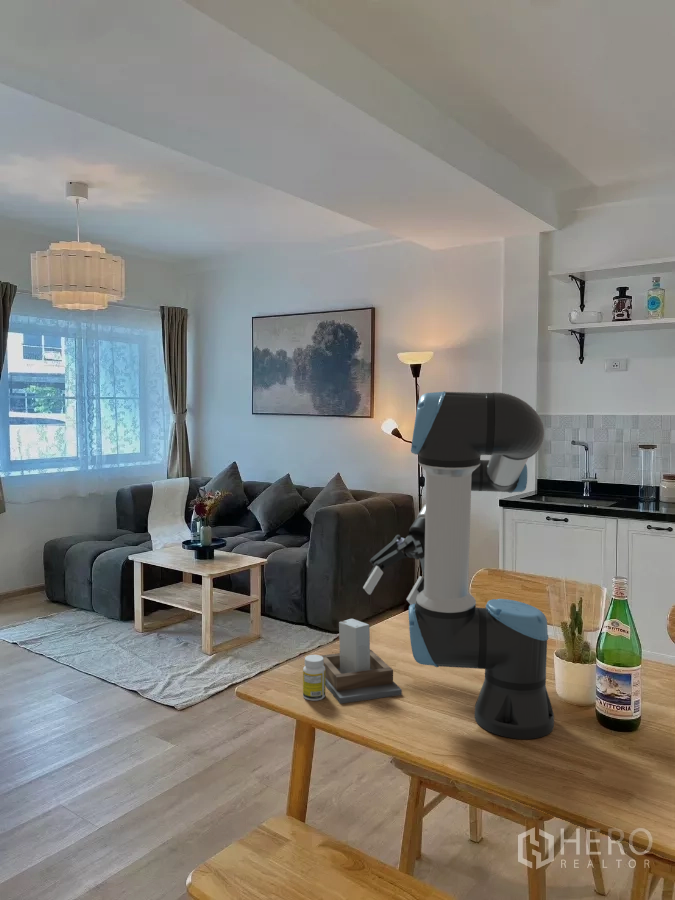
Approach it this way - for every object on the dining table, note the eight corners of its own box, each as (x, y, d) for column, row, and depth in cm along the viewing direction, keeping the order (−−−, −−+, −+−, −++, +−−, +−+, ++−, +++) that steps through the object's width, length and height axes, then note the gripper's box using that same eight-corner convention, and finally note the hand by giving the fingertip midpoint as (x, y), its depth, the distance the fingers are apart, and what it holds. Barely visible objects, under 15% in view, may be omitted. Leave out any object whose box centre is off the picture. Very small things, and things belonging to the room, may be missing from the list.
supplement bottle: (312, 690, 151) (312, 652, 151) (329, 695, 149) (330, 657, 148) (298, 697, 147) (298, 658, 147) (316, 703, 145) (316, 663, 144)
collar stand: (401, 694, 149) (402, 675, 149) (339, 703, 145) (340, 683, 144) (367, 661, 168) (367, 644, 168) (311, 668, 163) (311, 650, 163)
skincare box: (371, 677, 155) (371, 624, 155) (356, 682, 153) (356, 628, 152) (352, 669, 160) (353, 617, 159) (337, 673, 157) (338, 621, 156)
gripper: (477, 542, 165) (437, 617, 156) (397, 528, 183) (357, 595, 173) (465, 522, 161) (422, 598, 152) (384, 510, 179) (342, 577, 169)
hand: (387, 597), depth 162 cm, fingers open, 13 cm apart
